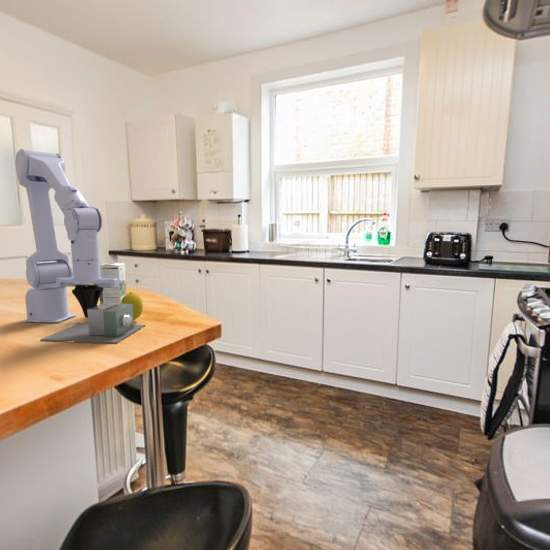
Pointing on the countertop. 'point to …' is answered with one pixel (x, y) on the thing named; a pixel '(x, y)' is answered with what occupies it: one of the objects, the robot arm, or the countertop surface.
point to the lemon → (134, 300)
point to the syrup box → (117, 293)
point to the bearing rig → (118, 320)
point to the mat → (86, 335)
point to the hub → (97, 318)
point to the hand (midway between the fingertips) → (90, 316)
